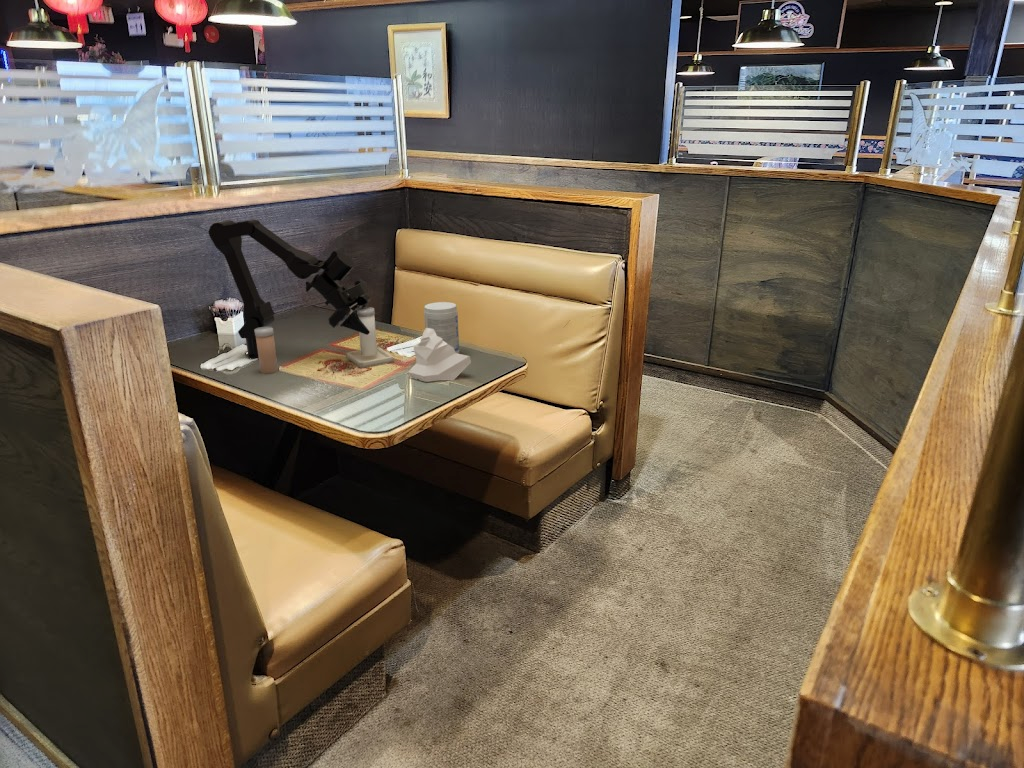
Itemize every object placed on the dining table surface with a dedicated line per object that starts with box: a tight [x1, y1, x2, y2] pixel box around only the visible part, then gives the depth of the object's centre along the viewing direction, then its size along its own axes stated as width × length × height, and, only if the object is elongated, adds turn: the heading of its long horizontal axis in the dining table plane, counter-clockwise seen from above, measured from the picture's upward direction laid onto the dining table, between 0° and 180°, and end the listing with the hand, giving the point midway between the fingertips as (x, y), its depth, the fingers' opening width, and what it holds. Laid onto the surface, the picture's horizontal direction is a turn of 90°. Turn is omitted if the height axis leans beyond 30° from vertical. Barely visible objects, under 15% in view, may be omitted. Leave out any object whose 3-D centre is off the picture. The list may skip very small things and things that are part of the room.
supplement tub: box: [423, 301, 460, 354], centre depth 209 cm, size 10×10×15 cm
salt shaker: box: [357, 306, 378, 356], centre depth 205 cm, size 5×5×13 cm
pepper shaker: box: [255, 326, 279, 375], centre depth 197 cm, size 5×5×12 cm
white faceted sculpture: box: [407, 328, 472, 383], centre depth 191 cm, size 12×15×14 cm
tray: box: [345, 346, 395, 369], centre depth 207 cm, size 12×10×2 cm
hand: (371, 331), depth 204 cm, fingers closed on salt shaker, 4 cm apart
